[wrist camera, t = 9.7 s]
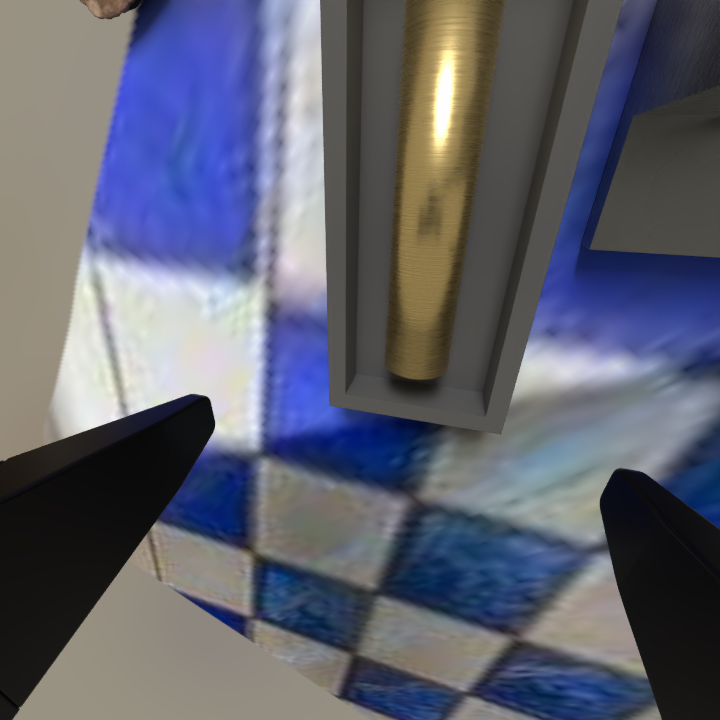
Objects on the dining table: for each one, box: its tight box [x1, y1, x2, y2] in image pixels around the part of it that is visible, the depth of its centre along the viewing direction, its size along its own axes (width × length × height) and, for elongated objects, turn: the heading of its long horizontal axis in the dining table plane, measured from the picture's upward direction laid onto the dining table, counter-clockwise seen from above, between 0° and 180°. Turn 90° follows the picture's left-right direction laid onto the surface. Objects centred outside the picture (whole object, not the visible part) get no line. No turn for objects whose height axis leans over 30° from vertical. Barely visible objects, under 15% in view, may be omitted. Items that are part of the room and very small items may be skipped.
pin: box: [385, 0, 506, 380], centre depth 12 cm, size 13×3×3 cm, turn 178°
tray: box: [320, 0, 623, 434], centre depth 13 cm, size 8×19×2 cm, turn 177°
